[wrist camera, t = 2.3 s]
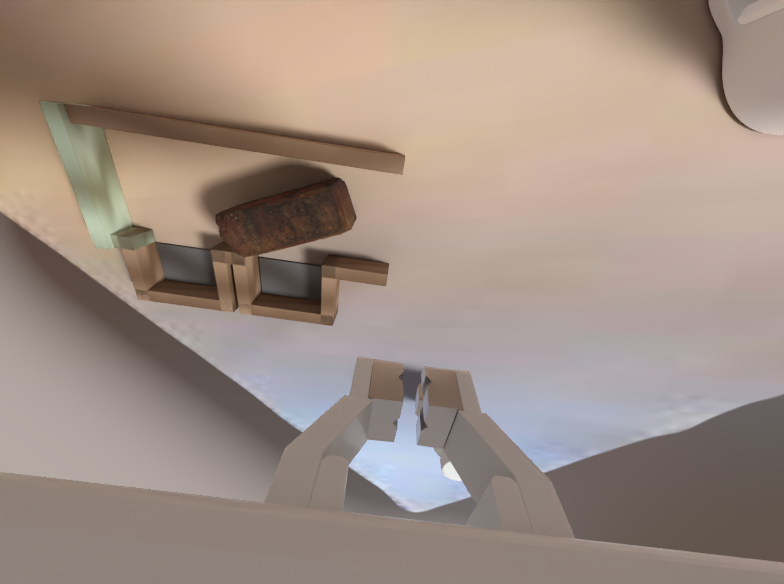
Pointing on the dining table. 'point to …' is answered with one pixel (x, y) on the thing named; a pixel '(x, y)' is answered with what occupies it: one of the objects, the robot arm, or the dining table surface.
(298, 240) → the brick
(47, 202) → the dining table surface
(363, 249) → the dining table surface
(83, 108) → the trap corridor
